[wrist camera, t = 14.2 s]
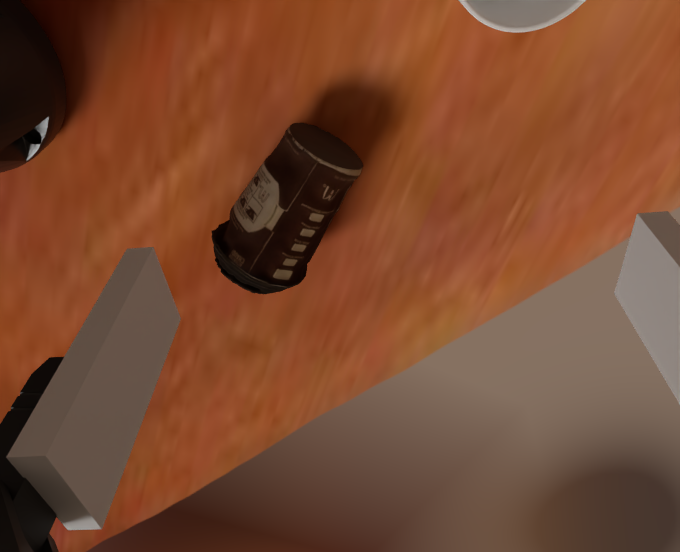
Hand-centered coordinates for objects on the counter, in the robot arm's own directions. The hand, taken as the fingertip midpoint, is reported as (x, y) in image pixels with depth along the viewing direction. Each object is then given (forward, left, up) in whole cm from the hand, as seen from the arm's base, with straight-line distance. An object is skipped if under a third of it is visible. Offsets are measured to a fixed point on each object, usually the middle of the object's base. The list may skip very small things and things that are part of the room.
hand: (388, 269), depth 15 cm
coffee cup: (-4, -7, -26) cm, 27 cm away
